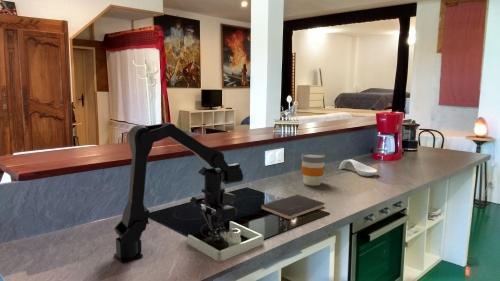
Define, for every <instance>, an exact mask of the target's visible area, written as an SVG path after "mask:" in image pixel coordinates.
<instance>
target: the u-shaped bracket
mask: <svg viewBox="0 0 500 281" xmlns="http://www.w3.org/2000/svg"><path fill="white" fill-rule="evenodd" d="M230 229H239V230H240V231H241V235H240V236H242V237H245V238H246V239H247V240H245V241H241V243H239V244H236V245H234V246H231V247H229V246H228V247H226V248H224V249H221V250H219V249H217V248H216V247H214V246H212V245H209V244H208V243H206V242H204V241H202V240H201V239H198V238H197V237H195V236H193V234H192V235H191V234H188V235H187V245H189V246H191V247H192V248H194V249H196V250H197V251H198V252H201V253H203V254H204V255H206V256H208V257H210V258H211V259H213V260H215V261H216V262H218V263H221V262H223V261H225V260H228V259H230V258H232V257H234V256H237V255H240V254H242V253H245V252H247V251H249V250H252V249H255V248H257V247H259V246H262V245H264V241H265V240H264V238H265V236H264V235H263V234H262V233H259V232H257V231H255V230H252V229H250V228H248V227H246V226H243V225H241V224H239V223H237V222H234V221H233V220H232V221H231V220H230V221H229V230H230Z"/></svg>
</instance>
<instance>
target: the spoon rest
mask: <svg viewBox="0 0 500 281" xmlns="http://www.w3.org/2000/svg"><path fill="white" fill-rule="evenodd" d="M346 163H350V164H352V166H353V167H354V169H355V171H356V173H357V174H358V175H359V176H362V177H373V176H375V175H376V174H377V173H378V170H377V169H375V168H373V167H371V166H368V165H366V164H364V163H362V162H360V161H357V160H355V159H345V160H342V162H341V163H340V164H339V168H338V169H339V170H345V168H346Z"/></svg>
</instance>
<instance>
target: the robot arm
mask: <svg viewBox="0 0 500 281" xmlns="http://www.w3.org/2000/svg"><path fill="white" fill-rule="evenodd" d="M166 138H170V139H172V140H173V141H174V142H176V143H178V144H179V145H181V146H183V147H184V148H186V149H187V150H189V151H191V152H192V153H193V154H194V155H195V156H196V157H197V159H199V160H200V161H201V162H202V163H203V164H204V165H206V166H208V167H210V168H207V167H205V166H202V167H201V169H200V170H198V171H197V173H198V174H199V175H200V176H203V179H204V180H203V181H204V182H203V186H204V188H202V189H201V193H203V194H199V195H195V196H191V198H190V200H189V202H190V203H189V205H190V206H191V207H194V208H195V207H197V206H198V204H199V205H200V206H201V208H200V210H199V212H200V213H201V214H202V216H203V217H204V219H205V221H206V224H207V226H208V228H209V229H210V230H209V231H211V230H212V228H210V226H211V225H213V226H215V222H216V221H217V222H219V219H220V220H227V219H231V218H234V217H237V211H238V209H237V208H236V207H234V206H232V205H231V204H233V205H234V201H235V197H236V195H235V194H233V193H230V192H227V191H226V190H225V188H223V187H222V183H223V184H224V185H225V186H226V185H230V184H231V185H233V184H238V183H242V181H243V180H244V174H243V171H242V170H243V169H241V164H240V163H238V162H234V163H232V164H228V163H227V162H226V160H225V155H224V153H222V152H221V151H219V150H217V149H214V148H212V147H210V146H208V145H204V144H203V143H201V142H200V141H198V140H197V139H196V138H194V137H192V136H191V135H190V134H187V132H185V131H183V130H182V129H180V128H178V127H177V126H176V125H175V124H174V123H171V122H168V121H166V122H162V123H159V124H151V125H146V126H144V125H134V126H133V127H132V128H130V129H129V131H128V141H129V142H128V143H129V149H130V152H131V163H130V164H131V165H130V166H131V167H130V177H129V189H128V200H127V203H126V205H125V207H124V209H123V213H122V217H121V220H120V221H119V222H118V223H117V225H115V227H114V231H115V234H116V235H117V236H118V237H115V251H116V252H115V253H114V254H113V256H114V257H115V258H116V259H117V260H118V261H119V262H121V263H122V264H125V263H129V262H132V261H135V260H138V259H141V258H143V257H144V255H143V253H142V250H143V249H142V248H143V247H142V239H141V237H142V234H143V232H145V231H146V229H147V226H148V225H150V222H149V217H150V210H149V209H148V208H147V207H146V206H145V204H144V200H145V199H144V198H145V188H146V178H147V176H146V175H147V166H148V165H147V164H148V158H149V156H150V153H151V152H152V149H153V146H154V143H157V142H159V141H162V140H164V139H166ZM226 203H228V204H226ZM225 204H226V205H225Z"/></svg>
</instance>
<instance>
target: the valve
mask: <svg viewBox="0 0 500 281" xmlns="http://www.w3.org/2000/svg"><path fill="white" fill-rule="evenodd" d="M217 227H219V228H217ZM210 228H212V230H209V231H208V235H210V237H209V238H210V240H212V241H214V240H216V241H219V240H220V238H223V239H224V241H225V242H227V244H228V248H229V247H231V246H234V245H236V244H239V243H242V238H241V236H242V235H241V231H240V230H239V229H230V228H229V230H228V232H226V231H227V228H226V227H225V223H224V222H222V221H221V222H219V221H218V222H217V221H216V222H215V226H213V225H211V226H210ZM210 228H209V229H210ZM214 233H215V234H214Z"/></svg>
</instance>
